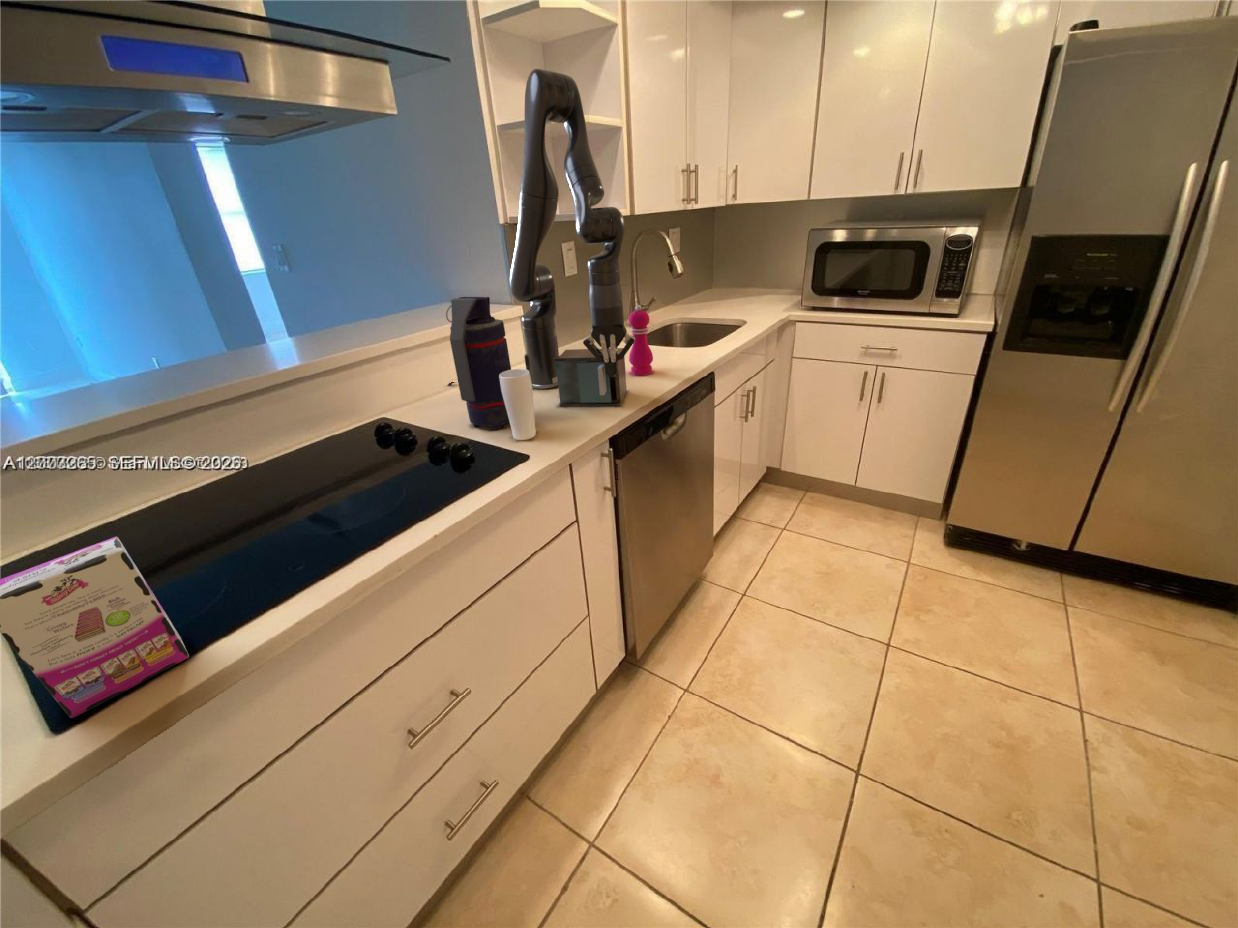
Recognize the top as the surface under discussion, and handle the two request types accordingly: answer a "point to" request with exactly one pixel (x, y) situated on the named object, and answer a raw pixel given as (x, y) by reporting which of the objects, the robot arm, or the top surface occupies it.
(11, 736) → the top surface
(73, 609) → the candy bar box
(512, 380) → the drinking glass
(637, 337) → the pepper mill
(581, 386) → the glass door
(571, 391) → the cabinet
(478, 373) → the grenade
